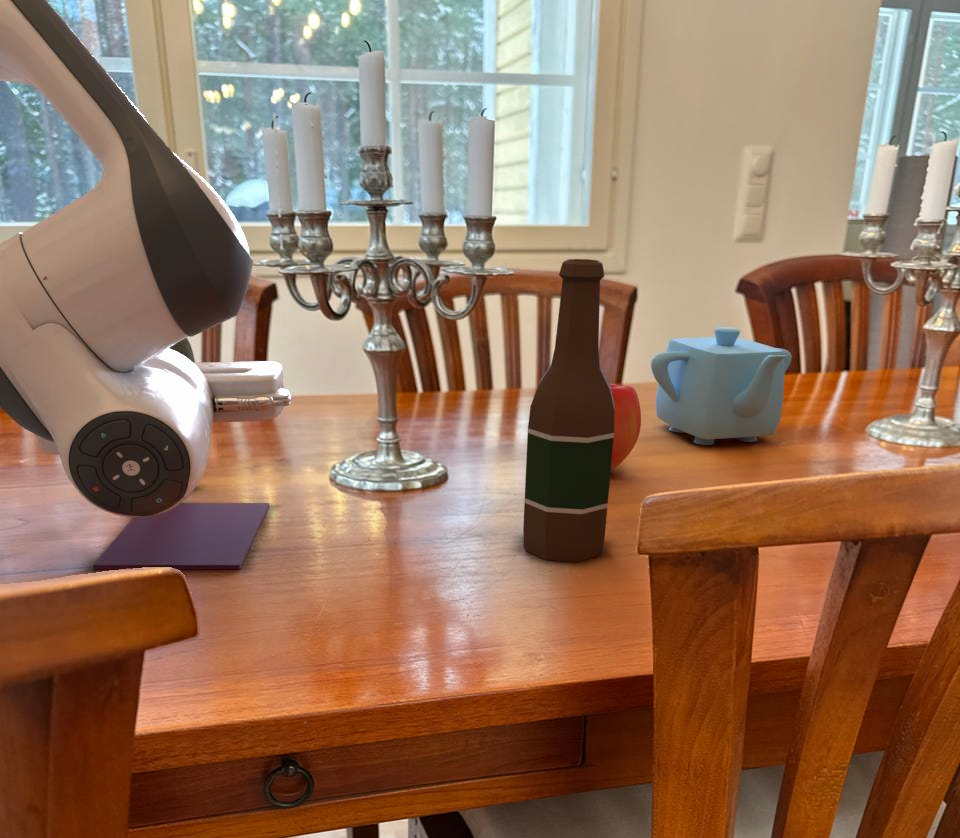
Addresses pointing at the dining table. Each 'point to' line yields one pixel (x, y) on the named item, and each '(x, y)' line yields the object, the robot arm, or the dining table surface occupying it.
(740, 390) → the teapot
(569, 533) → the beer bottle
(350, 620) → the dining table surface
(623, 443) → the apple
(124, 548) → the placemat
